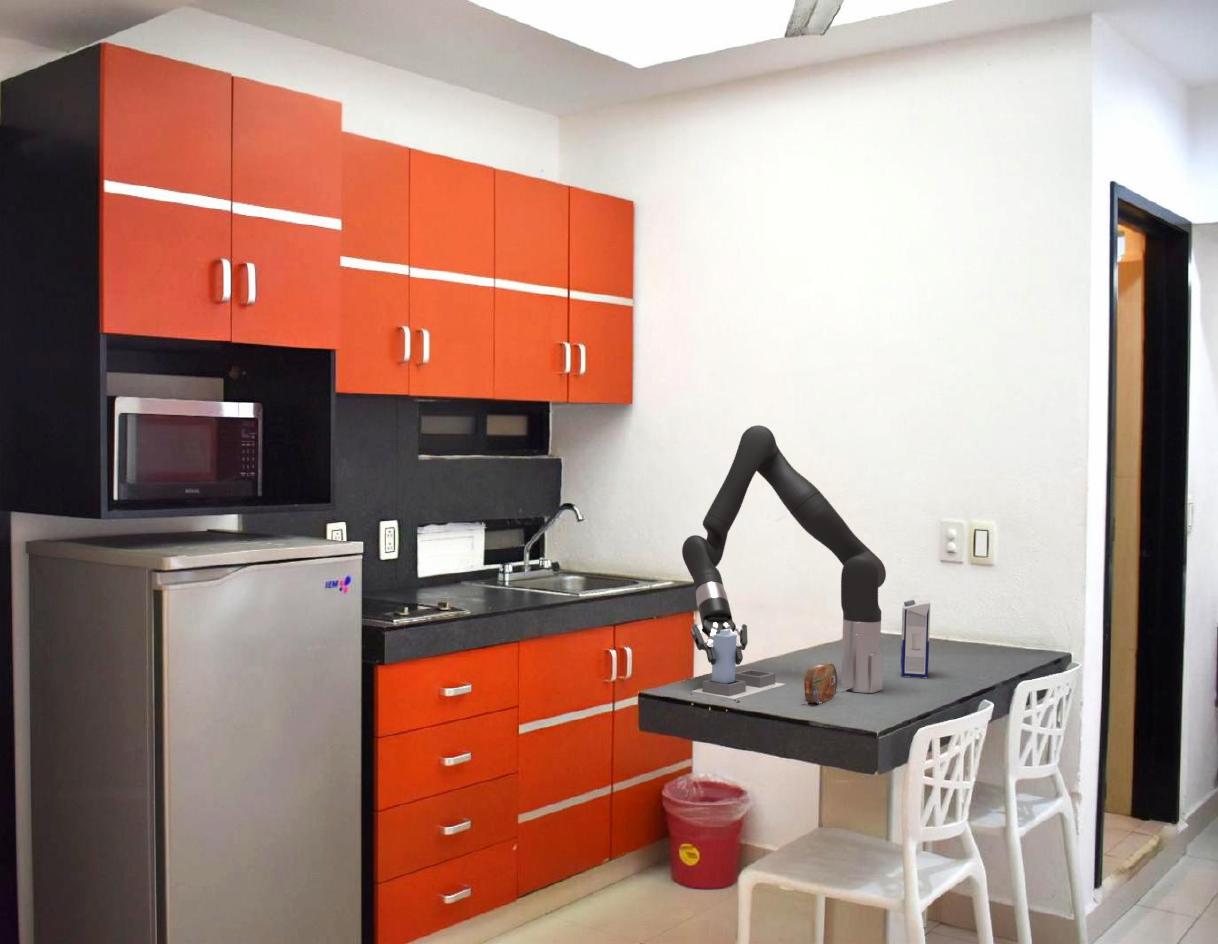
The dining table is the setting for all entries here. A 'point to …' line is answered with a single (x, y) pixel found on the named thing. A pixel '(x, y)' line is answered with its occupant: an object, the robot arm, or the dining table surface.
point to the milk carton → (915, 638)
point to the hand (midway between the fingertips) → (726, 662)
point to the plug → (724, 657)
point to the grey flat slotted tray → (741, 684)
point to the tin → (820, 683)
